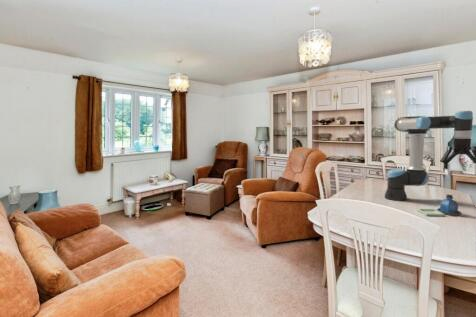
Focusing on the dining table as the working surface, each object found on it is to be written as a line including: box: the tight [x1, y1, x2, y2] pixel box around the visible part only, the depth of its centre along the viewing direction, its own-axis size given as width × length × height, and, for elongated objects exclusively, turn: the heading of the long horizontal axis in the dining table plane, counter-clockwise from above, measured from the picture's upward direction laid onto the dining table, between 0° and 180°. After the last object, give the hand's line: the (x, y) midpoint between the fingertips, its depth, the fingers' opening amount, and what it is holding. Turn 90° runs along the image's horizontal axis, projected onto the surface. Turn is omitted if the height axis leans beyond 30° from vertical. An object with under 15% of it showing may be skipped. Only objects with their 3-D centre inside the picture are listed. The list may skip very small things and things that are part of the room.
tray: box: [417, 208, 446, 217], centre depth 160 cm, size 10×10×2 cm
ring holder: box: [436, 207, 462, 217], centre depth 159 cm, size 12×12×1 cm
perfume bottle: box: [439, 194, 459, 214], centre depth 159 cm, size 6×6×12 cm
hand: (460, 174), depth 143 cm, fingers open, 13 cm apart
